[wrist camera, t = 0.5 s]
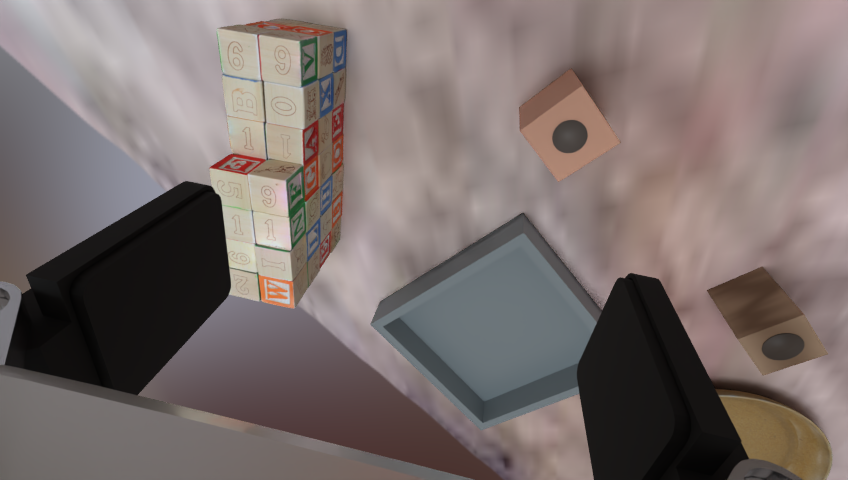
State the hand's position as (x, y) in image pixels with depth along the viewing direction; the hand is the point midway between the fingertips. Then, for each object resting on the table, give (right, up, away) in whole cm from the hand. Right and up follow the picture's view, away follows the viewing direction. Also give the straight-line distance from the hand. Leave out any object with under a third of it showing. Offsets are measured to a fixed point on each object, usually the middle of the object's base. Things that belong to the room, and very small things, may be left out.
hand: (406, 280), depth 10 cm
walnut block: (+32, -5, +32) cm, 46 cm away
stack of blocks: (-10, +11, +33) cm, 36 cm away
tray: (+9, -8, +39) cm, 41 cm away
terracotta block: (+12, +12, +27) cm, 32 cm away
